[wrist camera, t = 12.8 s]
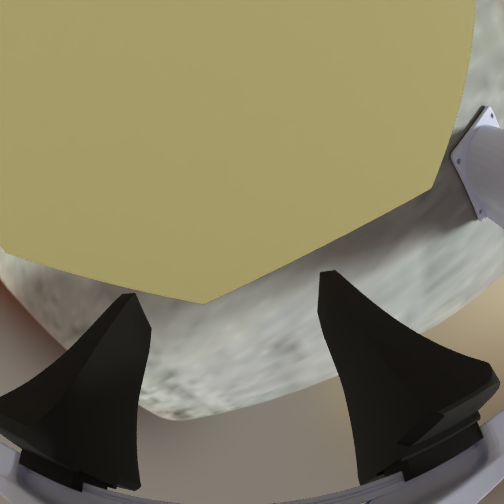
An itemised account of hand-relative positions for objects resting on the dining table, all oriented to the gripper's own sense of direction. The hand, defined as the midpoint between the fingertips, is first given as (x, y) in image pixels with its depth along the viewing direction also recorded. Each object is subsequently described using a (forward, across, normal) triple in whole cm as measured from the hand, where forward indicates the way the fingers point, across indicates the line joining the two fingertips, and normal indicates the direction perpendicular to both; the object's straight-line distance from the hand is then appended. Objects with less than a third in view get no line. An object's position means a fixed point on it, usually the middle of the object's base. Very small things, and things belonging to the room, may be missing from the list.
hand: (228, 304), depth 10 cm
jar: (+10, 0, -9) cm, 13 cm away
